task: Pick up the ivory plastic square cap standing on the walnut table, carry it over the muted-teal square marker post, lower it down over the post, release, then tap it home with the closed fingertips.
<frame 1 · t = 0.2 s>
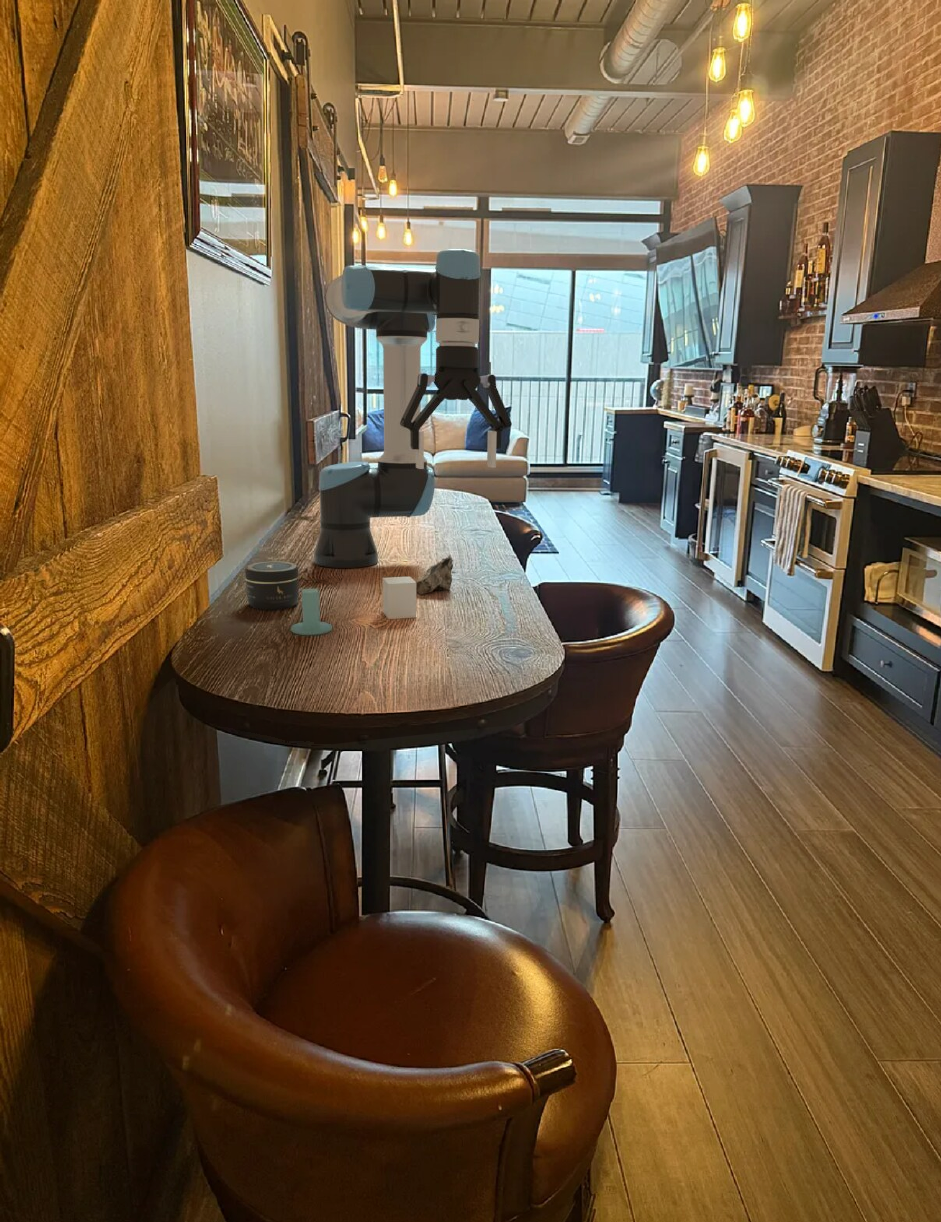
hand: (456, 467, 155), 27 cm above the table, fingers open, 13 cm apart
jar: (273, 605, 165), on the table
rock: (433, 591, 178), on the table
post: (311, 629, 149), on the table
cap: (399, 614, 160), on the table
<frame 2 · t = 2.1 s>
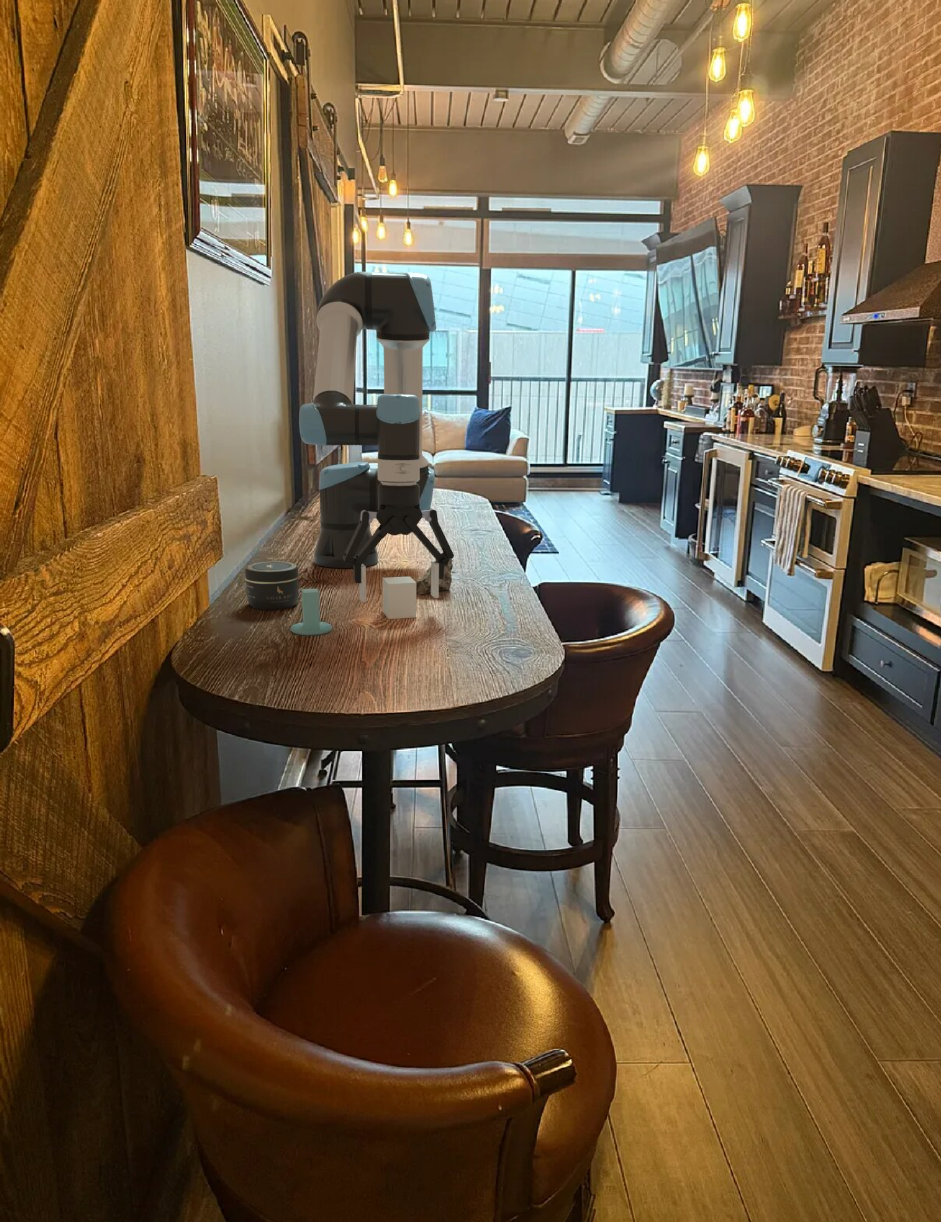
hand: (399, 598, 158), 3 cm above the table, fingers open, 13 cm apart
nothing on the table moved.
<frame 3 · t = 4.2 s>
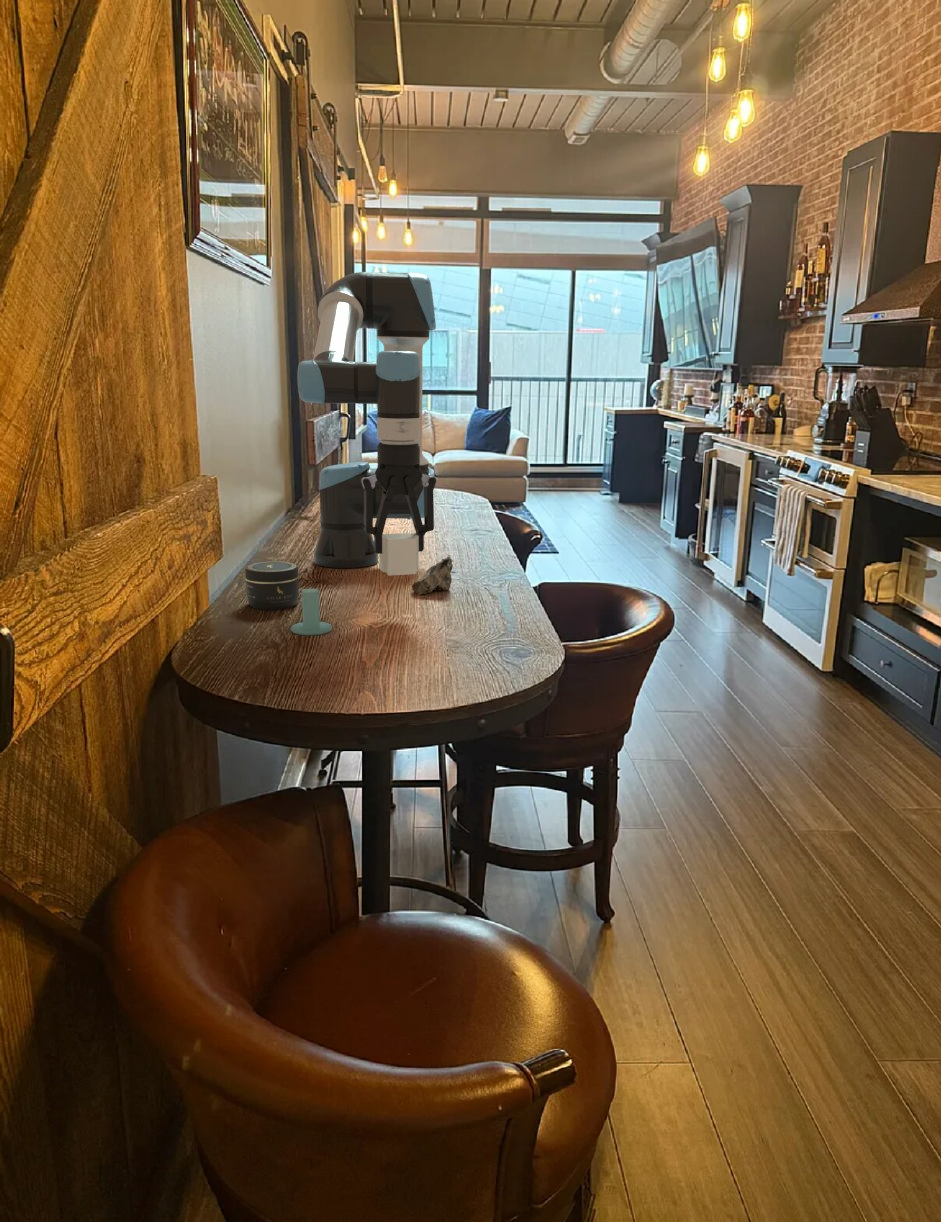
hand: (399, 569, 158), 9 cm above the table, fingers closed on cap, 5 cm apart
cap: (399, 571, 158), point 8 cm above the table, touching gripper
everything else where it was.
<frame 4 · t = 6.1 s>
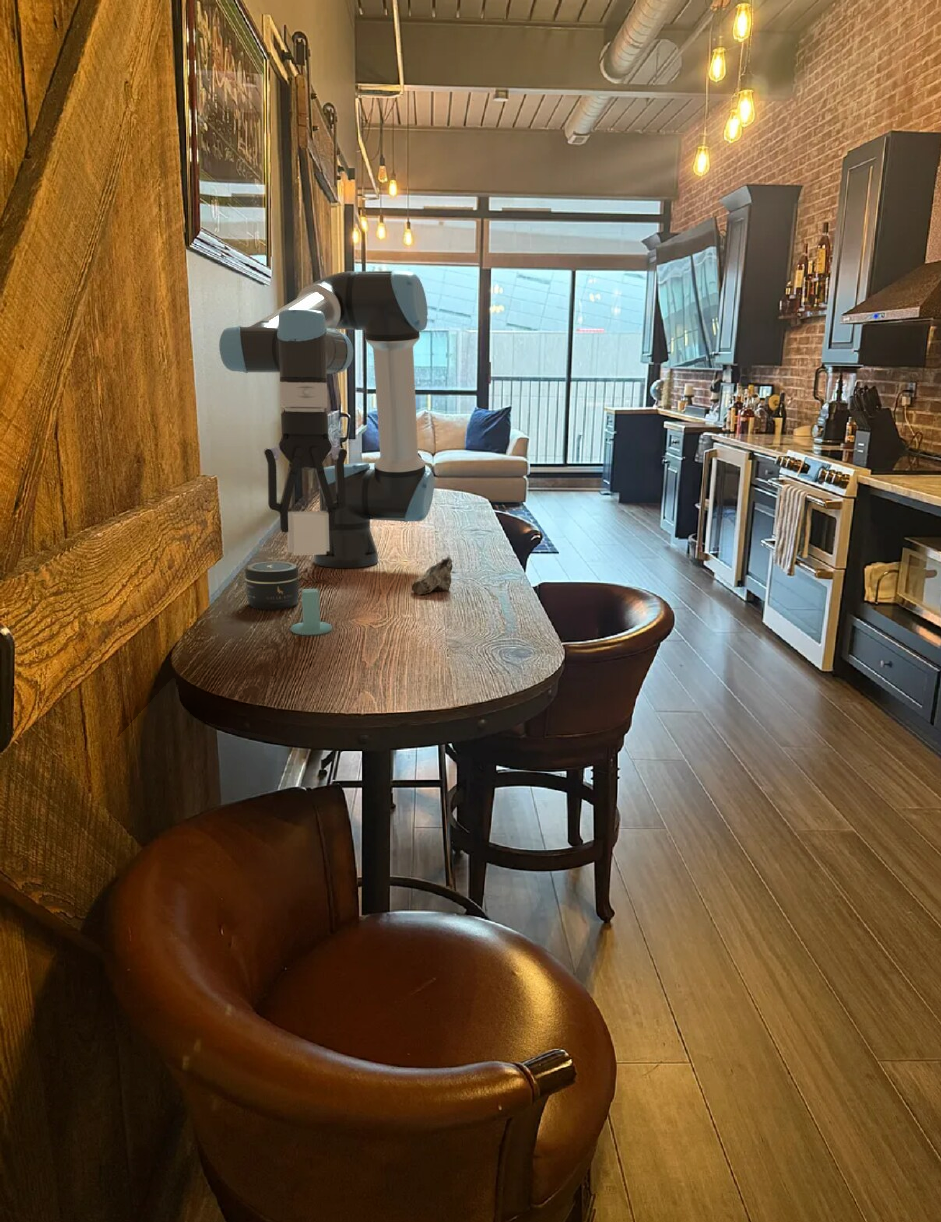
hand: (308, 550, 145), 14 cm above the table, fingers closed on cap, 5 cm apart
cap: (308, 552, 145), point 14 cm above the table, touching gripper
everything else where it was.
when the fingers open (1 cm above the table, at t = 8.4 s): cap stays where it is, resting on post.
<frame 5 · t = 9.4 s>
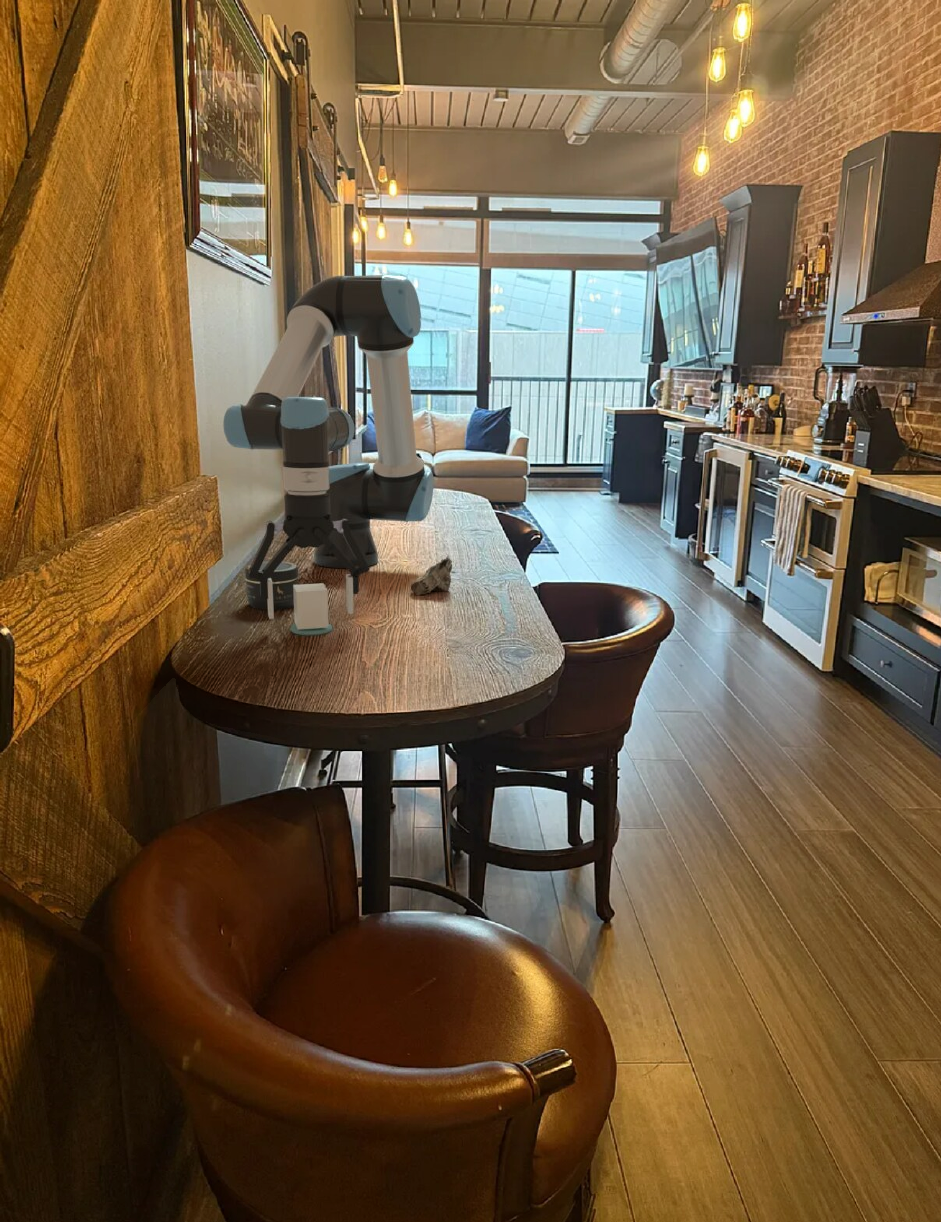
hand: (311, 614, 148), 3 cm above the table, fingers open, 13 cm apart
cap: (311, 624, 149), point 1 cm above the table, touching post
everything else where it was.
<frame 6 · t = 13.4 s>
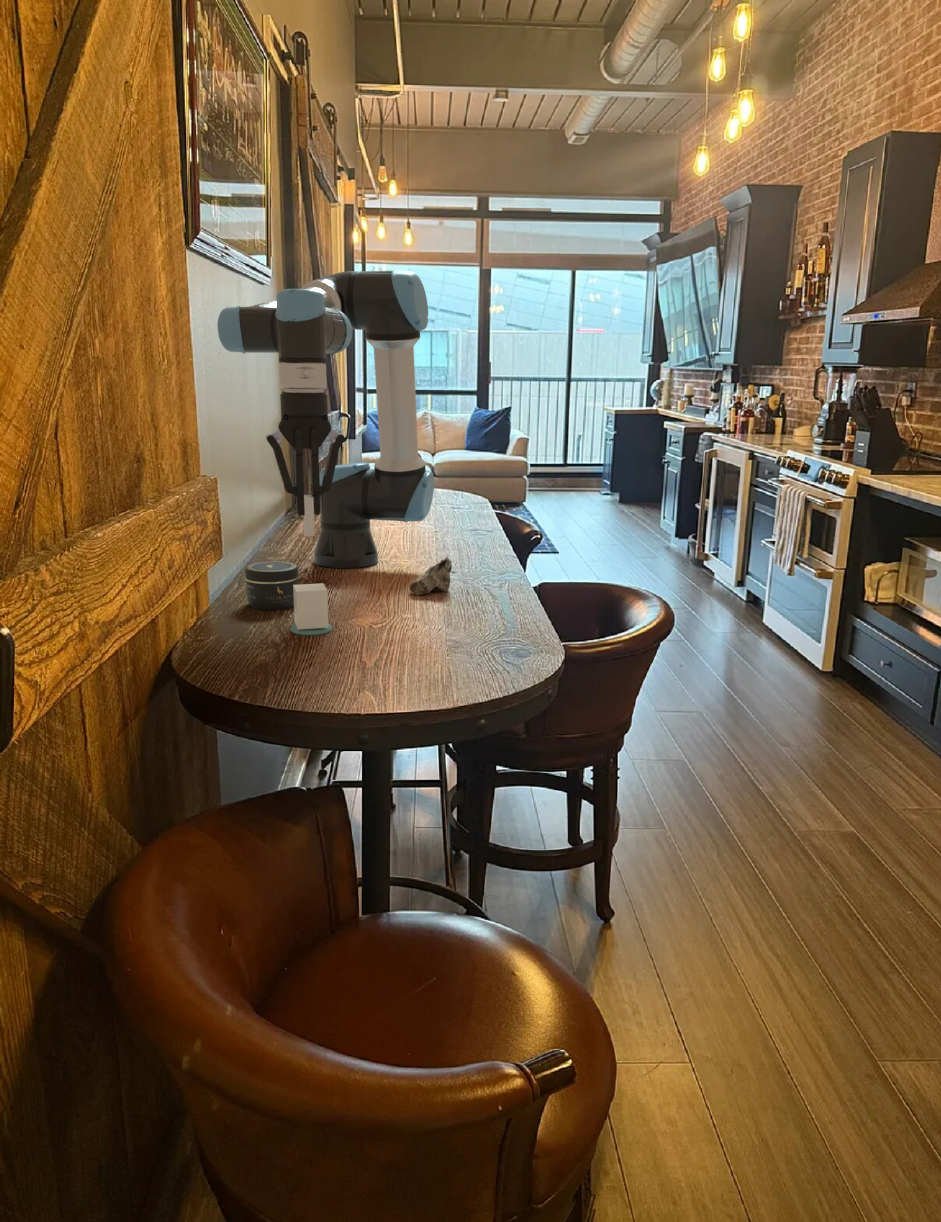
hand: (309, 534, 145), 17 cm above the table, fingers closed
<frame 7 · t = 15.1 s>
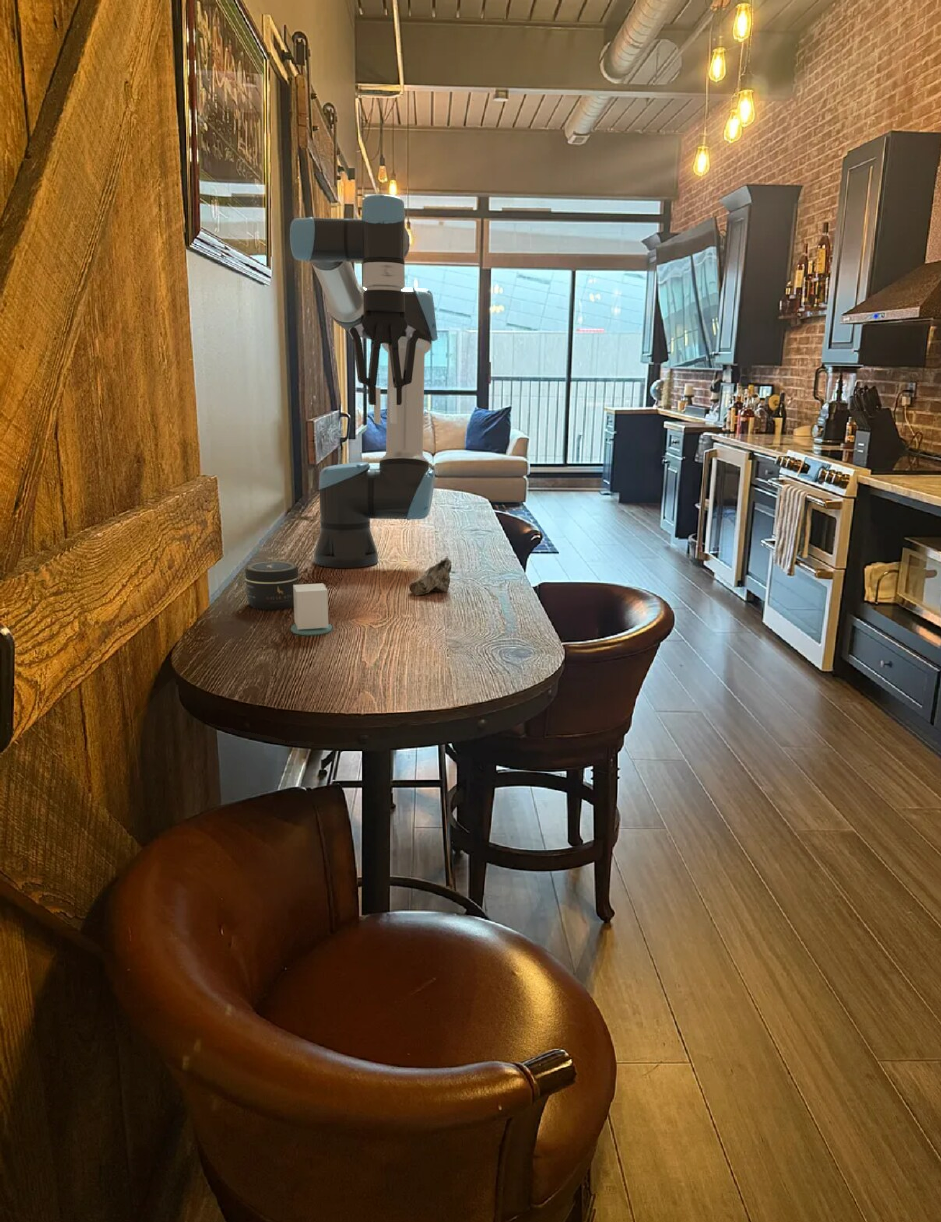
hand: (385, 422, 161), 34 cm above the table, fingers open, 2 cm apart
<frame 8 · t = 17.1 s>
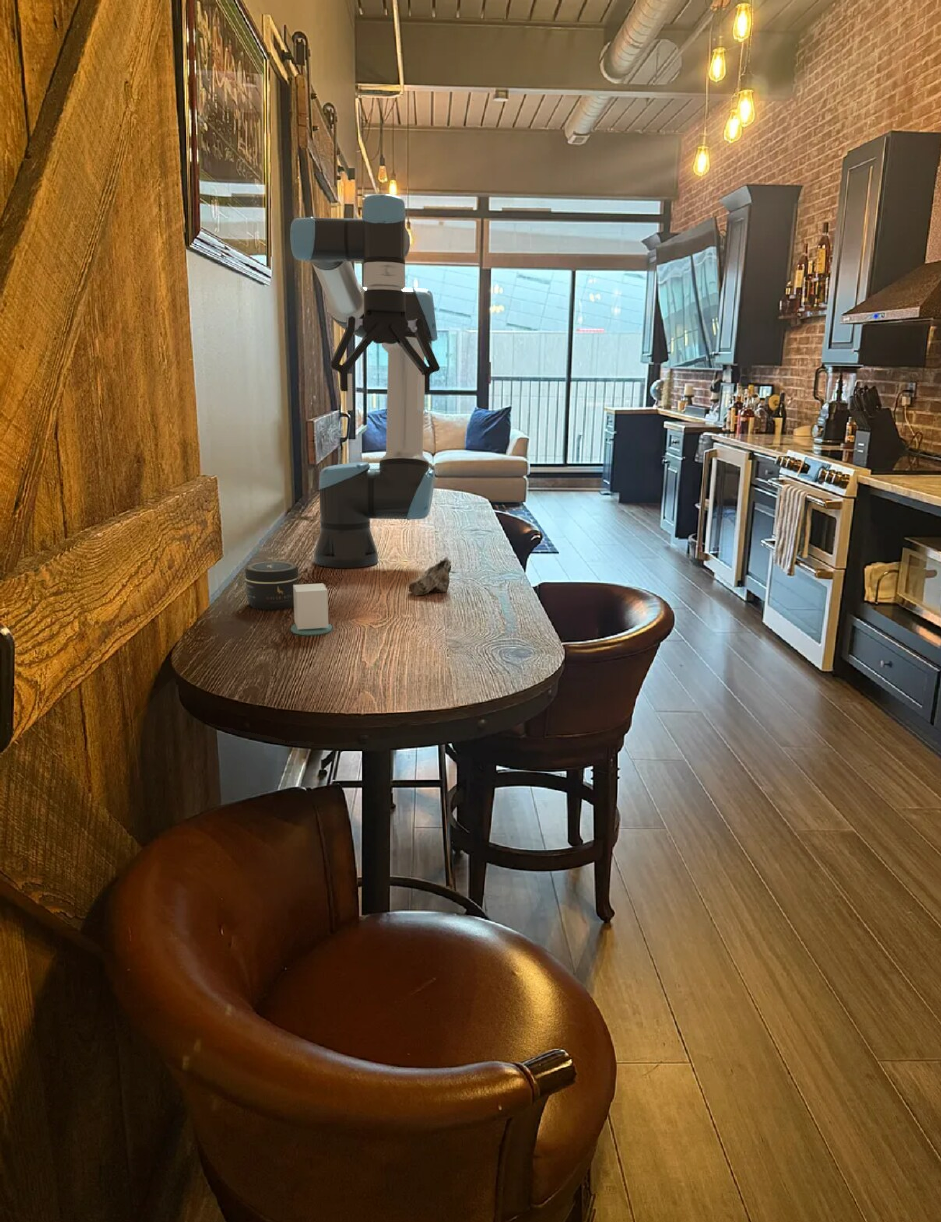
hand: (385, 410, 160), 37 cm above the table, fingers open, 13 cm apart
at the end: cap 0.2 cm from the post (horizontally); cap point 1.0 cm above the table; the gripper is holding nothing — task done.
